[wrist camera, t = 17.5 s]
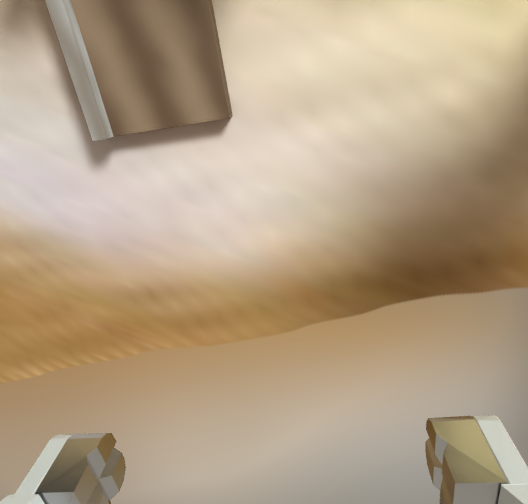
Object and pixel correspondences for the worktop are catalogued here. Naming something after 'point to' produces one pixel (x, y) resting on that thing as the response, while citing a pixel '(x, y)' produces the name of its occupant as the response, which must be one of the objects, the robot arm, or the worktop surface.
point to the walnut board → (142, 63)
